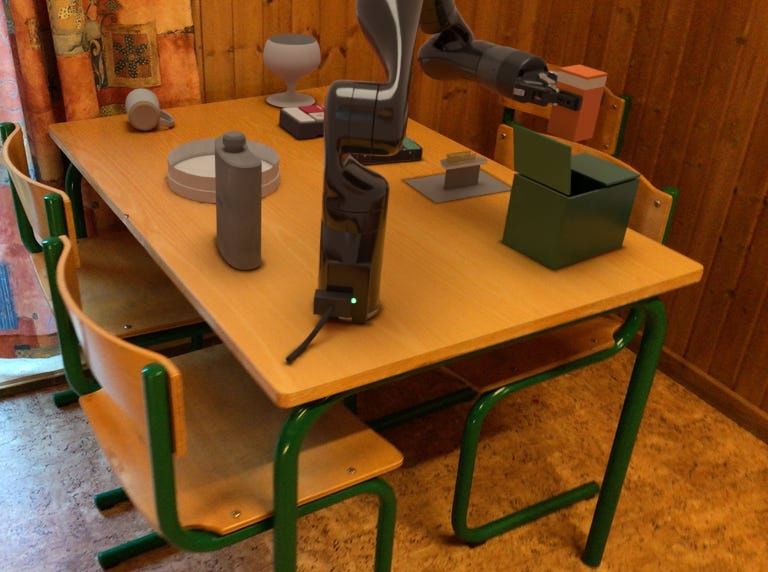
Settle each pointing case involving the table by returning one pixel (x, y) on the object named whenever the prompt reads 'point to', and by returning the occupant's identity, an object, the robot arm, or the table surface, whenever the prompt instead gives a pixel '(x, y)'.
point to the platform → (458, 179)
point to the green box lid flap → (542, 159)
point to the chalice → (291, 65)
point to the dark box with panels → (303, 121)
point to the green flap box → (571, 213)
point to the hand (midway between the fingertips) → (591, 101)
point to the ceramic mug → (146, 110)
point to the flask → (238, 201)
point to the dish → (213, 169)
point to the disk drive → (406, 153)
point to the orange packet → (591, 89)
